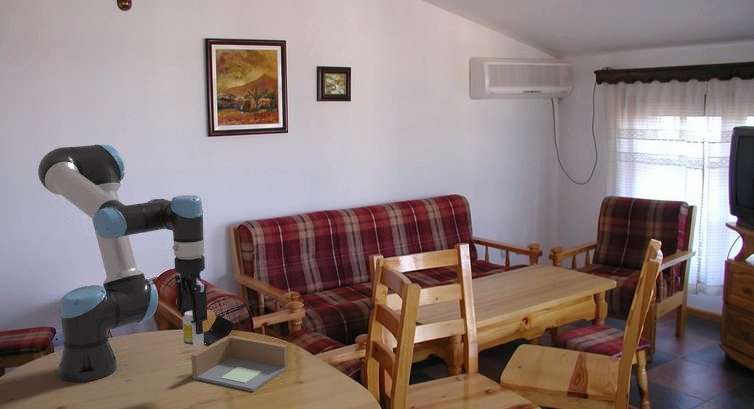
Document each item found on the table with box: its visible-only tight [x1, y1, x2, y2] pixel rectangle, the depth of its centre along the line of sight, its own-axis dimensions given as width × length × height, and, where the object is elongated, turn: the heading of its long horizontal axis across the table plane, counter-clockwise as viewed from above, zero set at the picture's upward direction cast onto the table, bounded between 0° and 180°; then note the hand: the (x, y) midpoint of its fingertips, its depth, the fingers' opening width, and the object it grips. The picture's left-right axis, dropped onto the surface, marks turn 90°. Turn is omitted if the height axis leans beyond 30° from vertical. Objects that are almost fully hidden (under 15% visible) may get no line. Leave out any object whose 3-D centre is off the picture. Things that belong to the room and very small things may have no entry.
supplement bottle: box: [182, 311, 194, 347], centre depth 183 cm, size 5×5×8 cm
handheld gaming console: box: [203, 314, 235, 346], centre depth 222 cm, size 12×7×10 cm
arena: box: [191, 334, 289, 393], centre depth 194 cm, size 20×17×7 cm
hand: (193, 342), depth 183 cm, fingers closed on supplement bottle, 5 cm apart
